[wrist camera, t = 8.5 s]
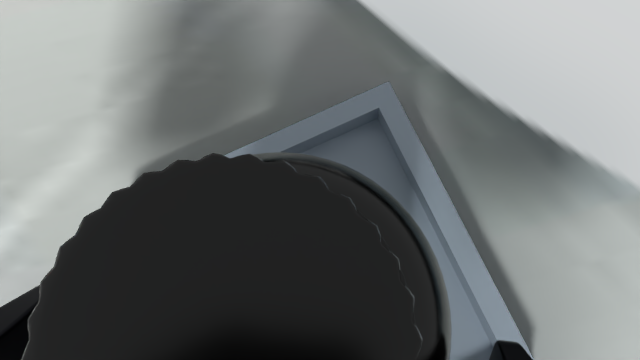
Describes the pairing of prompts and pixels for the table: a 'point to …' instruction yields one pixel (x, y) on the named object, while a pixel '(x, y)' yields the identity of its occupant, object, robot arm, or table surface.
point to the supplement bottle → (245, 270)
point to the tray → (407, 204)
